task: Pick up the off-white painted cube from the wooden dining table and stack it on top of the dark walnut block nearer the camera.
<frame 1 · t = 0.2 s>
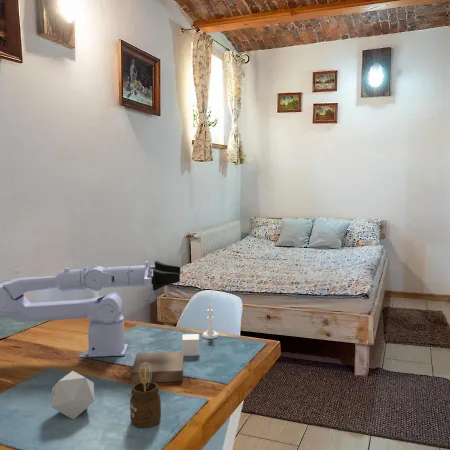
hand: (180, 274, 127), 21 cm above the table, tool horizontal, fingers open, 7 cm apart
white cube: (190, 352, 127), on the table
walnut block: (158, 373, 114), on the table
die: (73, 413, 94), on the table
utensil holder: (145, 422, 90), on the table
chess piece: (210, 336, 140), on the table
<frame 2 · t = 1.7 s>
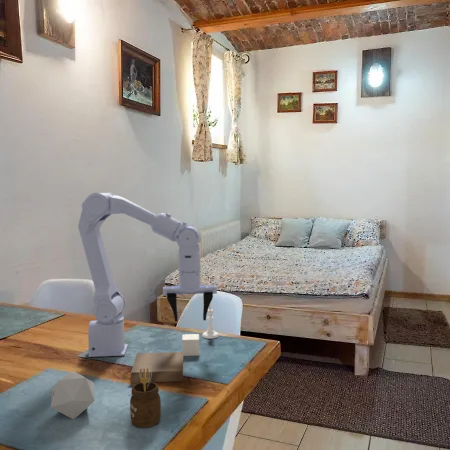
hand: (190, 319, 126), 9 cm above the table, tool pointing down, fingers open, 7 cm apart
nothing on the table moved.
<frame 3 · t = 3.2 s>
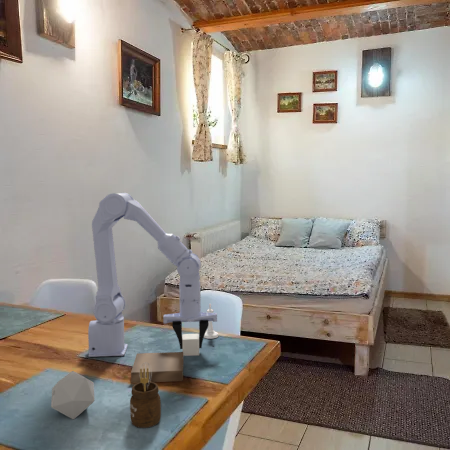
hand: (190, 347, 126), 1 cm above the table, tool pointing down, fingers closed on white cube, 4 cm apart
white cube: (190, 352, 126), on the table, touching gripper
everything else where it was.
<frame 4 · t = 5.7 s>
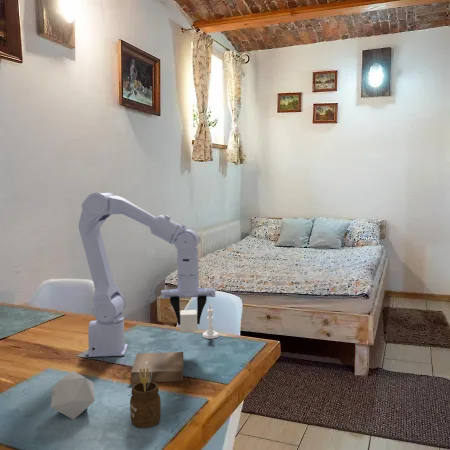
hand: (188, 323, 125), 8 cm above the table, tool pointing down, fingers closed on white cube, 4 cm apart
white cube: (188, 328, 125), point 7 cm above the table, touching gripper
everything else where it was.
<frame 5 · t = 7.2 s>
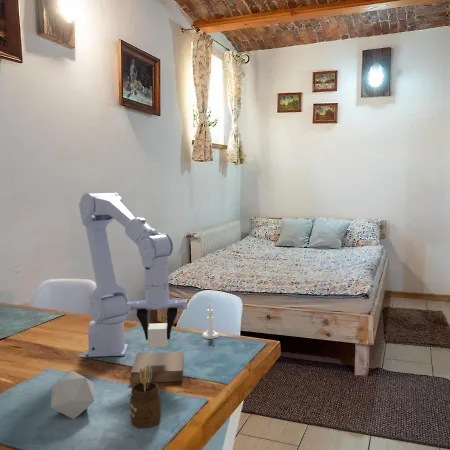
hand: (158, 338, 113), 8 cm above the table, tool pointing down, fingers closed on white cube, 4 cm apart
white cube: (158, 344, 113), point 7 cm above the table, touching gripper
everything else where it was.
when the fingers open (5 cm above the table, at t = 8.4 s): white cube drops 2 cm, resting on walnut block.
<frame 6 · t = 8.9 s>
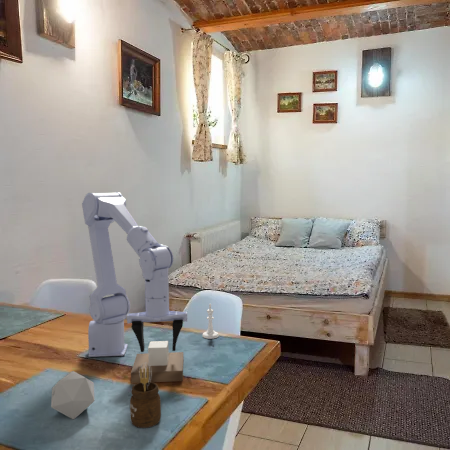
hand: (158, 350, 113), 5 cm above the table, tool pointing down, fingers open, 7 cm apart
white cube: (158, 362, 114), point 2 cm above the table, touching walnut block
walnut block: (158, 373, 114), on the table, touching white cube
everything else where it was.
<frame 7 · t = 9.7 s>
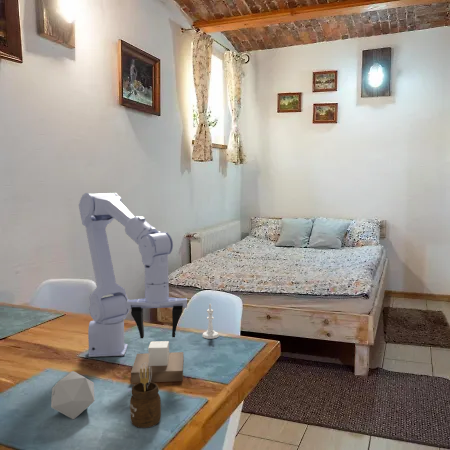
hand: (157, 336, 113), 9 cm above the table, tool pointing down, fingers open, 7 cm apart
white cube: (159, 362, 113), point 2 cm above the table
walnut block: (158, 373, 114), on the table
everything else where it was.
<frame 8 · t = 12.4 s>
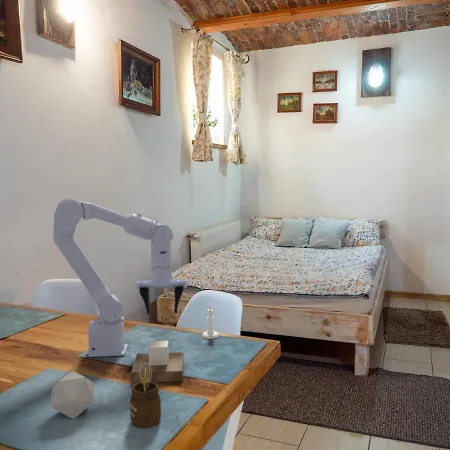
hand: (162, 312, 132), 9 cm above the table, tool pointing down, fingers open, 7 cm apart
nothing on the table moved.
at the end: white cube inside the target area on the walnut block (0.1 cm from its centre), point 3.0 cm above the walnut block's base; white cube tilted 0°; the gripper is holding nothing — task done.
